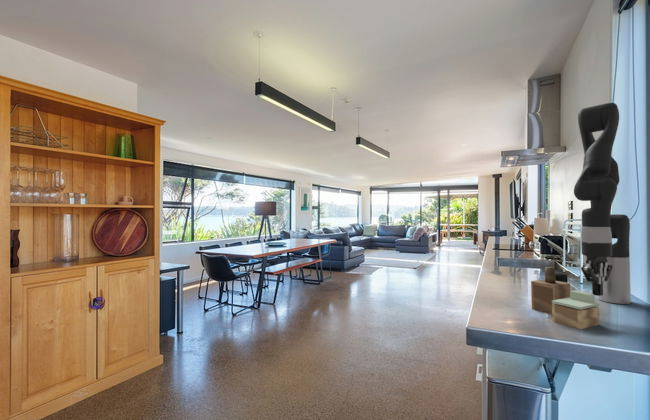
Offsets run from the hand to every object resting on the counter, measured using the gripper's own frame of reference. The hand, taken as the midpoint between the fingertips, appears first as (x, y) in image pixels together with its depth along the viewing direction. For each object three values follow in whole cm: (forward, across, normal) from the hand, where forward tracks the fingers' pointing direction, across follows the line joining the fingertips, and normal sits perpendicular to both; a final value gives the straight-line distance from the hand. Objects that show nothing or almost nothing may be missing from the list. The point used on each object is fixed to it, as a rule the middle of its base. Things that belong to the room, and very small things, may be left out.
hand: (597, 295), depth 103 cm
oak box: (+8, +12, 0) cm, 14 cm away
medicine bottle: (+8, -6, -16) cm, 19 cm away
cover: (+8, +6, -11) cm, 15 cm away
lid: (+2, +12, 0) cm, 12 cm away
